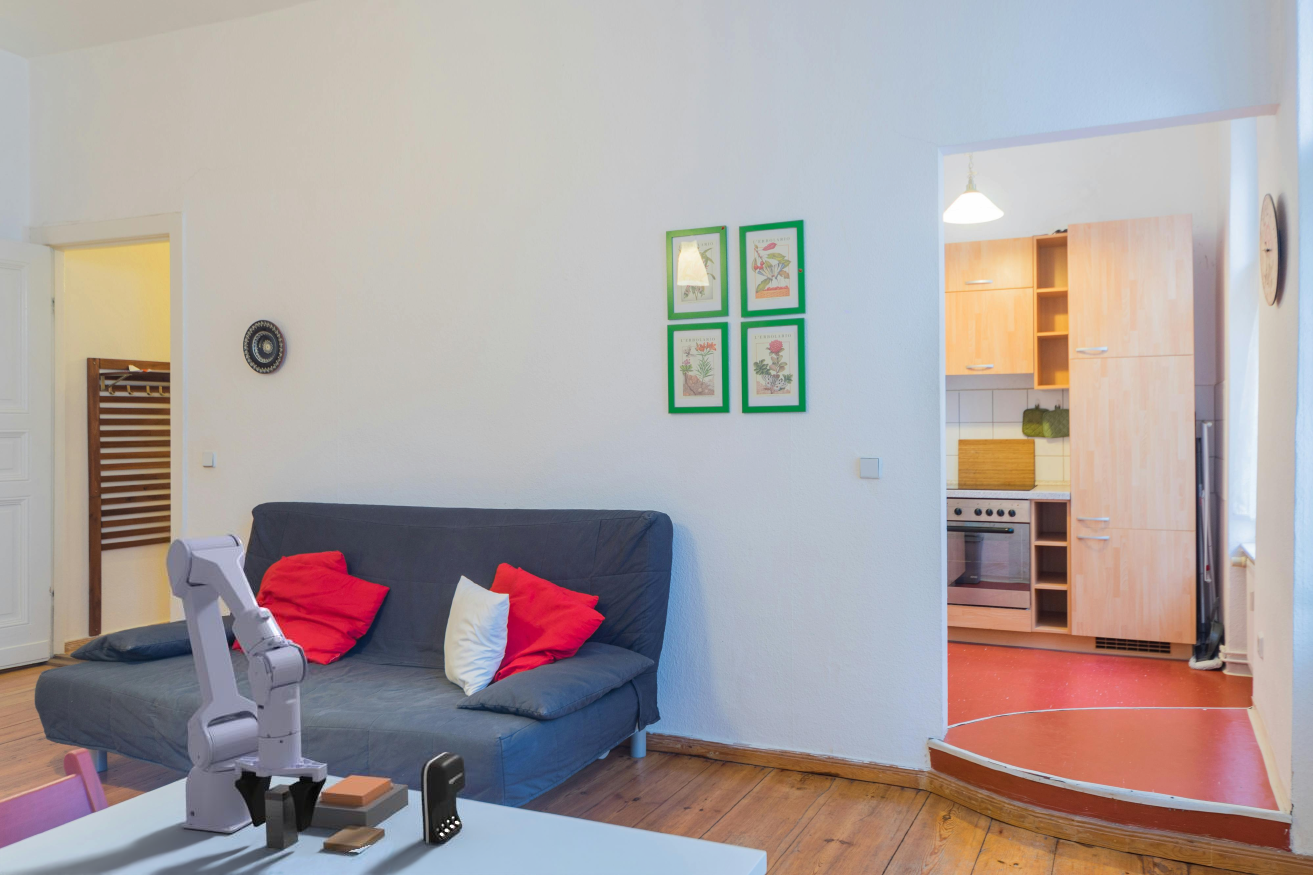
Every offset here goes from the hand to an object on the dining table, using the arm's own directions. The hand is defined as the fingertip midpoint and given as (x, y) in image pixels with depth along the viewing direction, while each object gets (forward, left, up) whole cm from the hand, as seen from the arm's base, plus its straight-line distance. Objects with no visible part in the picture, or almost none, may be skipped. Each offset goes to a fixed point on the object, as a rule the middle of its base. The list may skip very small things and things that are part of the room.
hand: (282, 826), depth 131 cm
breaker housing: (+4, +12, -2) cm, 13 cm away
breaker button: (+4, +12, 0) cm, 13 cm away
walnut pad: (+10, +3, -2) cm, 11 cm away
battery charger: (+22, +8, -3) cm, 24 cm away
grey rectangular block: (0, 0, -3) cm, 3 cm away
